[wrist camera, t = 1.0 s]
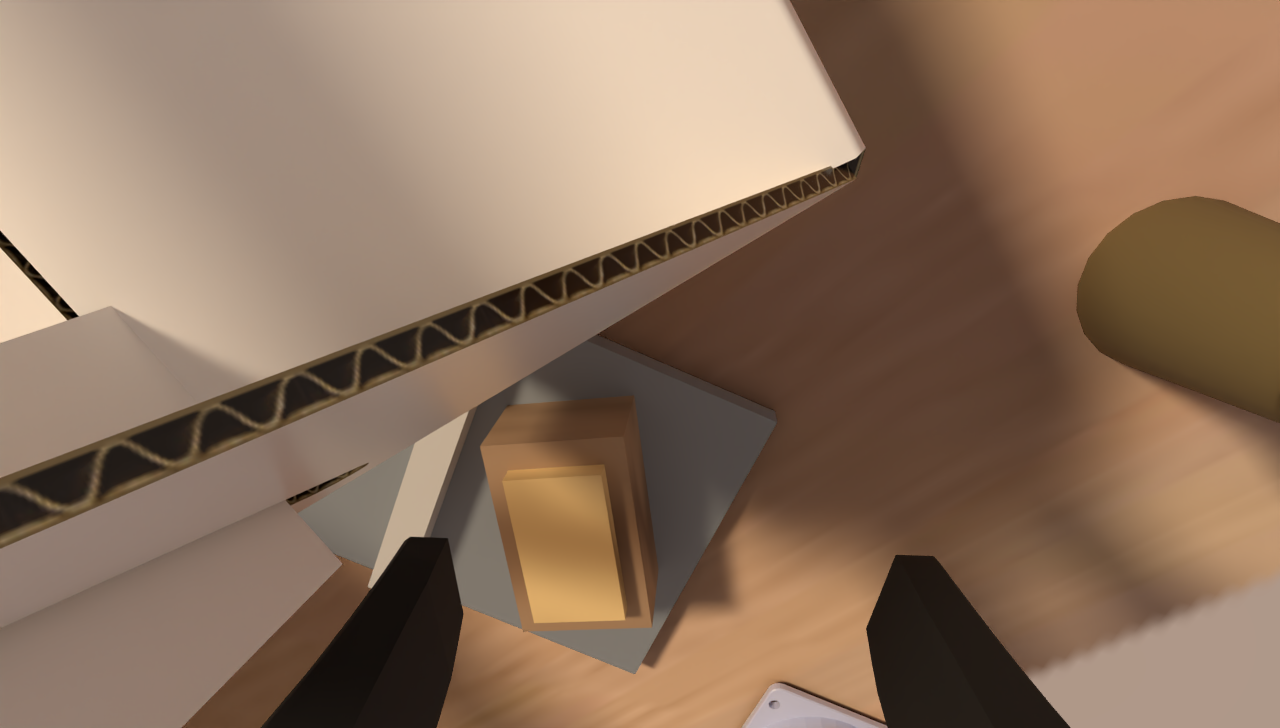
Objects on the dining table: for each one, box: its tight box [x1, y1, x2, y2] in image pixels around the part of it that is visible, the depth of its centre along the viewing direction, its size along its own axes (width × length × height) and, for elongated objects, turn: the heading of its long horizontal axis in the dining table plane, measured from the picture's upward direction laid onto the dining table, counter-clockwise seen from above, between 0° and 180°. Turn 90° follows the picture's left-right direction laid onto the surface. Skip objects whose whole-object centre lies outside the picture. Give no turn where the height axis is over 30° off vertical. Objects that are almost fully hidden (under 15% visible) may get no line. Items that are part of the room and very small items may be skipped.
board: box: [297, 335, 777, 674], centre depth 27 cm, size 14×21×3 cm, turn 67°
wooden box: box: [480, 395, 659, 632], centre depth 25 cm, size 8×5×4 cm, turn 7°
